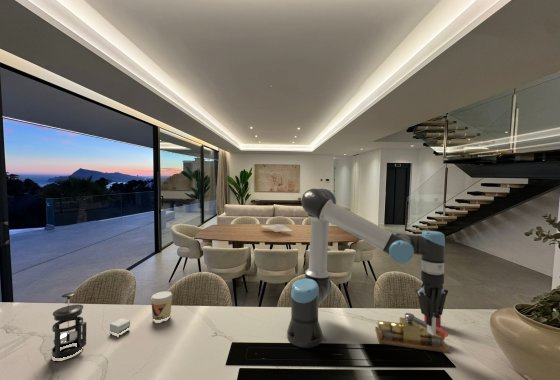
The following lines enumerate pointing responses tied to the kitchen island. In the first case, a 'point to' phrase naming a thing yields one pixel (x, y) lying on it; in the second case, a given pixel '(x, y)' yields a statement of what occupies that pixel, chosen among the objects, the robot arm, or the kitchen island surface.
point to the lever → (412, 318)
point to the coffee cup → (161, 305)
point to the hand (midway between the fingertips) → (431, 333)
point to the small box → (119, 325)
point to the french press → (68, 329)
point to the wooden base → (409, 336)
